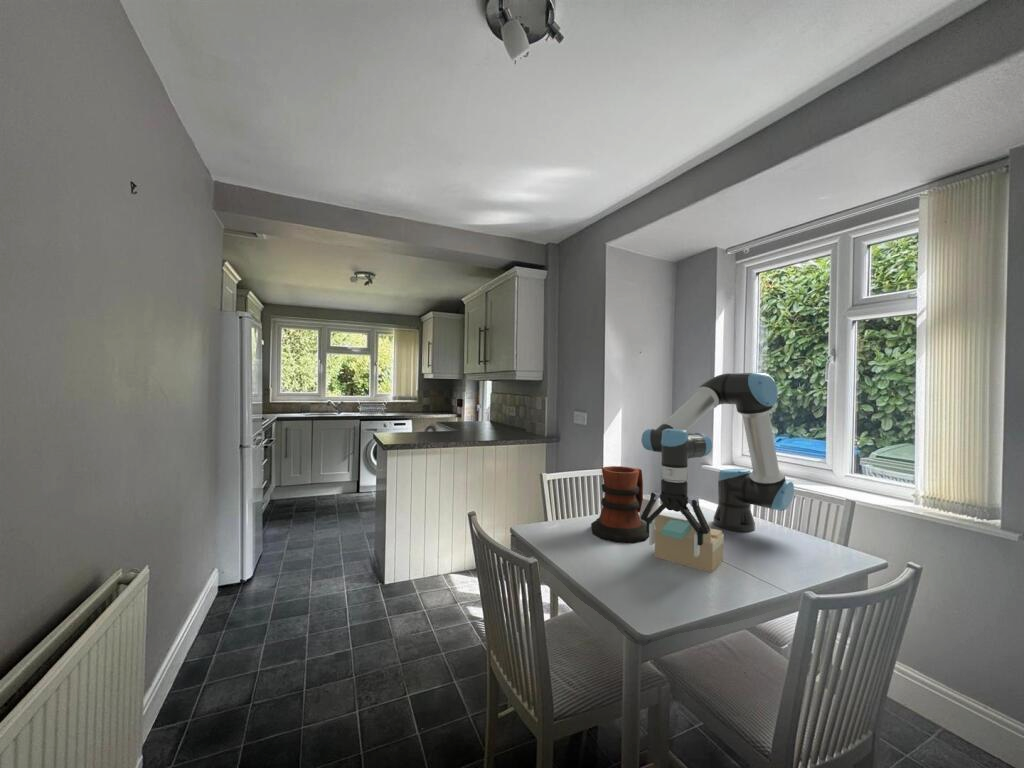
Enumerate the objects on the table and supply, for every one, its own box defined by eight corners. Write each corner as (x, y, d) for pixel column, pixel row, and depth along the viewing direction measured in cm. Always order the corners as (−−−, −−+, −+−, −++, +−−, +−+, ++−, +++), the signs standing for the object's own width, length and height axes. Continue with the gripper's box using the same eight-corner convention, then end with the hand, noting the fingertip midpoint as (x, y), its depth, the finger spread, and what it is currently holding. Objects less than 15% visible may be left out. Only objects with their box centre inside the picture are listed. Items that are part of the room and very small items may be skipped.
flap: (655, 513, 140) (644, 523, 133) (710, 524, 129) (701, 536, 122) (656, 530, 141) (645, 541, 134) (711, 542, 129) (702, 555, 123)
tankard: (579, 531, 165) (579, 468, 165) (617, 518, 181) (617, 461, 181) (627, 548, 148) (628, 478, 148) (664, 532, 165) (665, 469, 165)
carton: (667, 546, 150) (667, 519, 150) (723, 560, 138) (723, 531, 138) (654, 556, 141) (654, 527, 141) (713, 573, 129) (713, 541, 129)
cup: (649, 525, 173) (649, 500, 173) (629, 517, 183) (629, 493, 184) (664, 522, 176) (664, 498, 176) (643, 514, 187) (643, 491, 187)
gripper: (630, 475, 134) (629, 542, 134) (714, 488, 118) (713, 564, 118) (640, 472, 140) (639, 536, 140) (721, 484, 124) (721, 556, 124)
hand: (673, 549), depth 129 cm, fingers open, 13 cm apart
